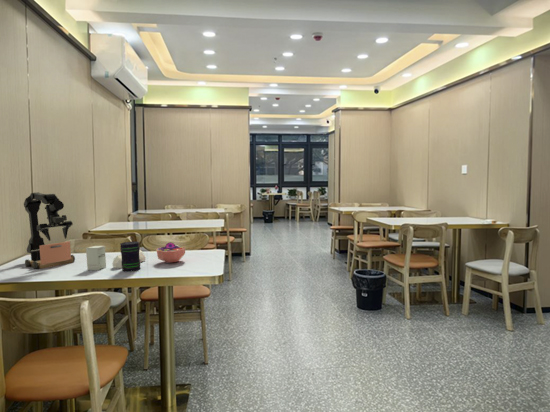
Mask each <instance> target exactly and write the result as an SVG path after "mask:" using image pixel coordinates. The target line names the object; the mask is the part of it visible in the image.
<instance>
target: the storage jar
mask: <svg viewBox="0 0 550 412" xmlns="http://www.w3.org/2000/svg"><path fill="white" fill-rule="evenodd" d="M119 245H120V255H122V261H121V263H122V268H121V271H122V272H124V273H125V272H126V273H127V272H130V273H131V272H136V271H140V270H141V269H142V268H141V262H140V259H139V252H140V250H141V249H140V242H139V241H124V242H121V243H120V244H119Z"/></svg>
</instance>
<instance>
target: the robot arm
mask: <svg viewBox="0 0 550 412" xmlns="http://www.w3.org/2000/svg"><path fill="white" fill-rule="evenodd" d="M41 204H44V205H45V207H44V210H46V211H45V212H46V215H47V217H46V219H47V221H48V223H39V218H38V212H39V210H40V207H41ZM64 204H65V203H64V202H63V201H61V200H60V198H58V196H57V195H56V193H42V192H31V193H30V194H29V196H27V197H26V198H25V199H24V202H23V207H24V211H26V213H27V214H28V217H29V218H28V219H29V229H30V238H29V240H28V245H27V248H26V253H29V254H30V260H31V261H40V260H41V259H40V247H39V246H41V245H46V244H45V241H44V240H45V239H44V238H43V237H42V236H41V235H40V232H41V233H42V234H43V235H44V237H46V239H47V240H48V241H49V242H50V241H51V236H50V232H49V229H50V228H59V227H62V233H63V237H64V239H65V240H66V239H67V238H68V237H67V235H68V231H69V228H71V227H72V226H73V225H74V224H73V221H72V220H68V219H67V214H62V215H61V216H60V214H59V212H60V211H61V210H62V209H64V207H65V205H64Z"/></svg>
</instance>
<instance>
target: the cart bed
mask: <svg viewBox="0 0 550 412" xmlns="http://www.w3.org/2000/svg"><path fill="white" fill-rule="evenodd" d="M75 260H76V257H75V255H74V254H71V259H70V260H64V261H58V262H53V263H47V264H41V260H40V261H31V259H25V260H24V265H25V267H26V268H29V267H31V268H33V269H35V270H37V269H39V270H40V269H42V270H43V269H47V268H52V267H57V266H58V265H59V266H63V264H64V265H68V264H69V265H70V264H74V262H75Z"/></svg>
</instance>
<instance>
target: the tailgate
mask: <svg viewBox="0 0 550 412" xmlns="http://www.w3.org/2000/svg"><path fill="white" fill-rule="evenodd" d="M39 247H40V249H39V250H40V259H41V264H47V263H53V262H58V261H64V260H70V259H71V255H72V251H71V250H72V249H71V241H69V240H68V241H63V242H62V241H61V242H56V243H48V244H45V245H41V246H39Z"/></svg>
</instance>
